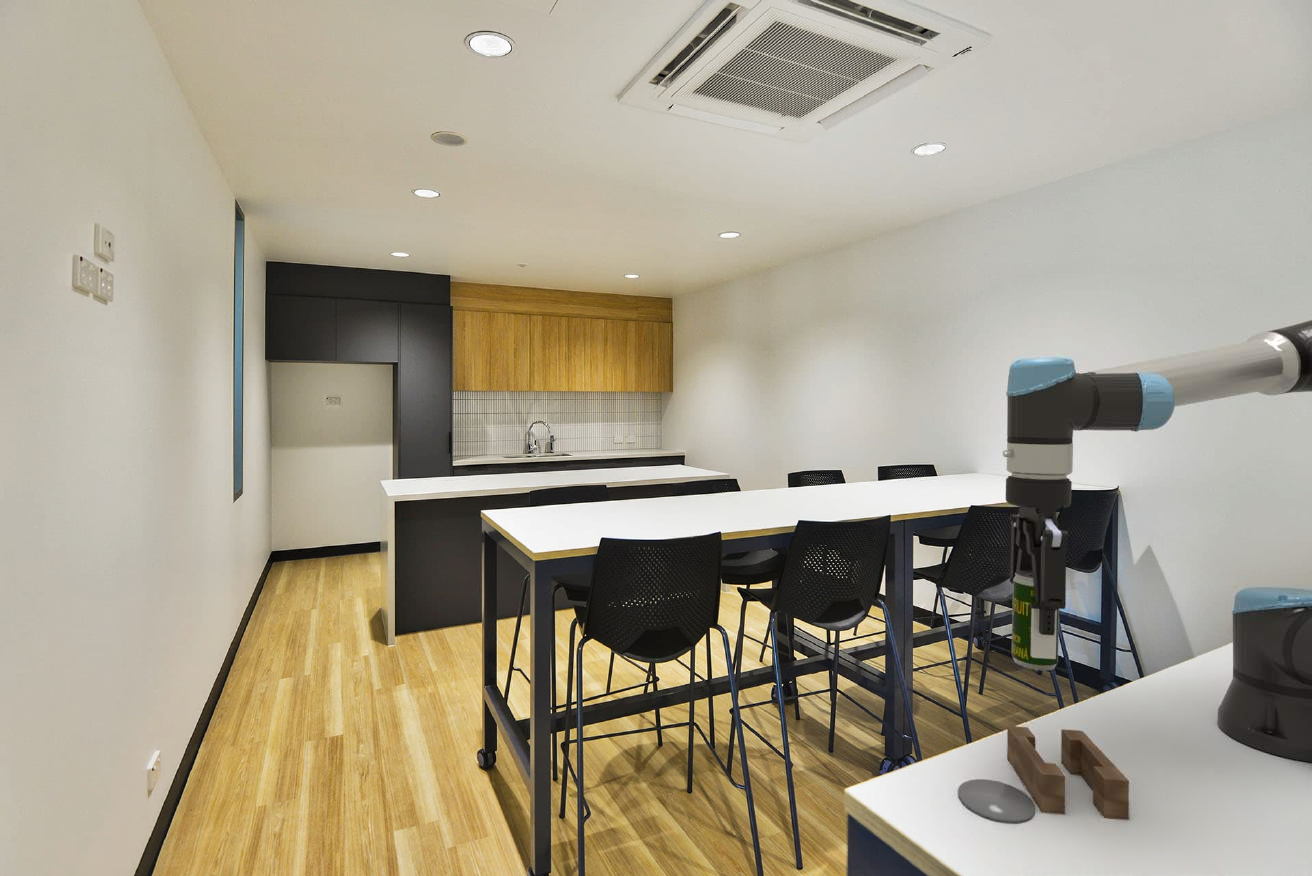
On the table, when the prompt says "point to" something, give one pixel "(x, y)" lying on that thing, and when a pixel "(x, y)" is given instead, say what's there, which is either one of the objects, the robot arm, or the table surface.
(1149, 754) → the table surface
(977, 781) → the coaster
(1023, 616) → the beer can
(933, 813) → the table surface
